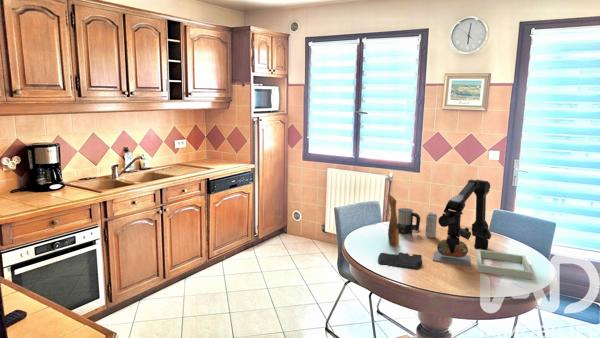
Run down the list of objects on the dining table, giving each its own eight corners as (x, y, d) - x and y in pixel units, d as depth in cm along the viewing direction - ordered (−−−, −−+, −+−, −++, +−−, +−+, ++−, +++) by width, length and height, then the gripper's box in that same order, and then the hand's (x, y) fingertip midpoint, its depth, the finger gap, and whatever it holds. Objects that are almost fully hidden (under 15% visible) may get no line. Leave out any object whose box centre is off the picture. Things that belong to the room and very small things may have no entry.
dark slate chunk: (379, 255, 220) (379, 246, 219) (421, 260, 214) (422, 251, 214) (376, 265, 206) (377, 256, 205) (422, 271, 200) (422, 262, 199)
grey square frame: (477, 271, 199) (478, 264, 199) (476, 255, 220) (477, 249, 220) (531, 279, 191) (532, 272, 190) (524, 262, 212) (525, 255, 212)
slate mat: (432, 260, 212) (432, 259, 212) (434, 251, 225) (434, 250, 225) (470, 266, 206) (470, 265, 206) (469, 256, 218) (469, 255, 218)
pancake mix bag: (387, 247, 230) (390, 199, 226) (385, 236, 249) (387, 192, 244) (399, 248, 229) (402, 200, 225) (396, 237, 248) (398, 192, 243)
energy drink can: (437, 237, 248) (439, 214, 246) (428, 238, 247) (430, 214, 244) (431, 234, 254) (433, 211, 252) (423, 235, 252) (424, 212, 250)
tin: (436, 254, 217) (437, 239, 215) (437, 252, 219) (438, 237, 218) (467, 258, 211) (468, 243, 210) (467, 256, 214) (468, 241, 213)
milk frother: (396, 234, 254) (398, 211, 252) (395, 226, 270) (397, 205, 267) (420, 235, 252) (422, 212, 249) (418, 228, 267) (419, 206, 265)
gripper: (471, 230, 201) (468, 260, 203) (470, 220, 218) (468, 248, 220) (447, 227, 205) (445, 257, 207) (448, 218, 222) (446, 245, 224)
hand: (452, 252), depth 215 cm, fingers closed on tin, 2 cm apart
